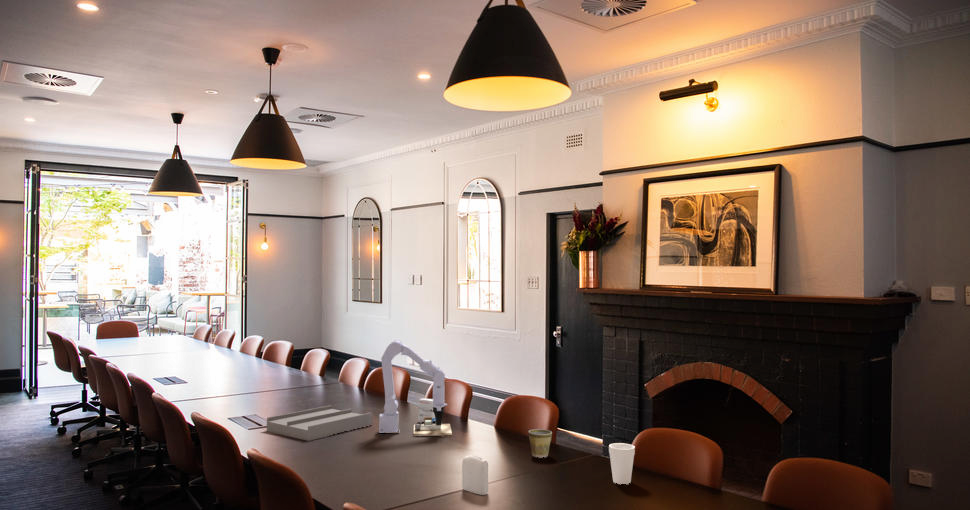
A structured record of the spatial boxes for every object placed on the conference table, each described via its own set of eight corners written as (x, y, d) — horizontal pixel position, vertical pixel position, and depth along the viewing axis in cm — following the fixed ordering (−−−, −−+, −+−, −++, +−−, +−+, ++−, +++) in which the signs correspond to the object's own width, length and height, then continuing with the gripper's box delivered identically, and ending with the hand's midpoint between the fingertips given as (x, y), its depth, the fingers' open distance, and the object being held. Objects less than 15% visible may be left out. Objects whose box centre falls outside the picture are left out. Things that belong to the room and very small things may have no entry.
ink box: (436, 422, 336) (437, 399, 336) (431, 424, 331) (431, 400, 332) (423, 420, 340) (424, 397, 340) (418, 422, 336) (418, 399, 336)
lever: (414, 430, 309) (415, 418, 309) (414, 429, 312) (414, 417, 312) (441, 429, 311) (441, 417, 311) (441, 428, 314) (441, 416, 314)
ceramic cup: (550, 459, 267) (550, 435, 267) (526, 458, 269) (526, 433, 269) (553, 451, 279) (553, 428, 280) (530, 450, 281) (531, 427, 282)
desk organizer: (266, 432, 313) (266, 417, 313) (330, 418, 345) (330, 405, 345) (308, 441, 294) (309, 426, 294) (372, 426, 327) (372, 412, 327)
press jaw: (425, 428, 313) (425, 421, 313) (425, 427, 316) (425, 420, 316) (431, 428, 313) (431, 421, 313) (431, 427, 316) (431, 420, 316)
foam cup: (616, 476, 244) (616, 441, 245) (639, 481, 238) (639, 445, 239) (604, 482, 237) (604, 446, 237) (627, 487, 231) (627, 451, 232)
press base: (413, 436, 303) (413, 425, 304) (413, 427, 323) (414, 416, 323) (451, 436, 305) (451, 424, 305) (449, 426, 325) (449, 415, 325)
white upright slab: (460, 489, 227) (460, 454, 228) (468, 487, 230) (469, 452, 231) (481, 496, 220) (481, 460, 220) (490, 493, 223) (490, 457, 224)
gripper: (447, 397, 307) (447, 426, 307) (446, 392, 322) (446, 419, 321) (432, 397, 307) (432, 426, 306) (432, 392, 321) (432, 419, 321)
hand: (438, 423), depth 314 cm, fingers open, 5 cm apart
